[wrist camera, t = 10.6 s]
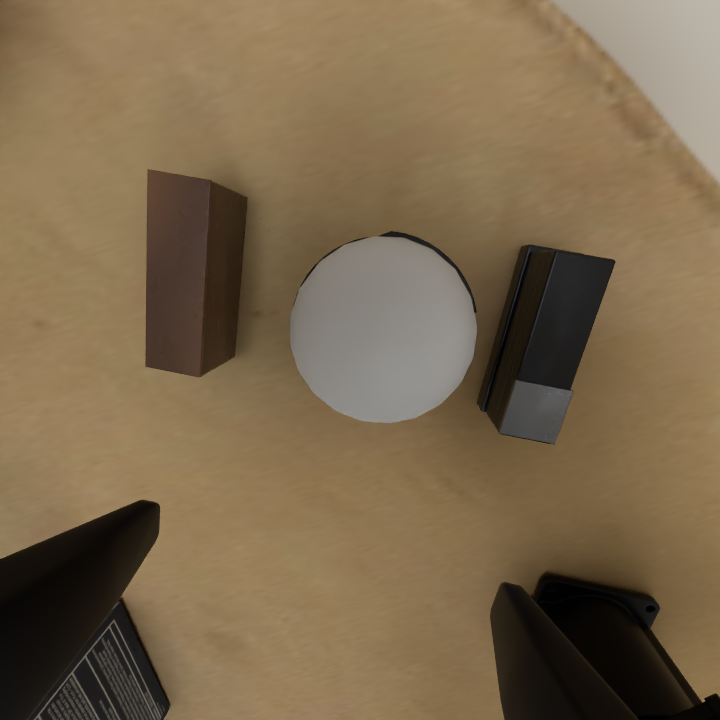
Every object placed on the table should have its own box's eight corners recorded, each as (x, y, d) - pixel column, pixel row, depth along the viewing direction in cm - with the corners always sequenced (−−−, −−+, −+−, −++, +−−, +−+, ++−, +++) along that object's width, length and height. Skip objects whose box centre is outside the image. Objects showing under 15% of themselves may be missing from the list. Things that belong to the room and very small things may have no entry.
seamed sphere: (489, 332, 18) (553, 377, 11) (369, 413, 19) (356, 498, 12) (367, 156, 16) (347, 72, 9) (249, 261, 18) (154, 257, 11)
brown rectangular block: (248, 197, 17) (210, 180, 14) (234, 357, 19) (199, 377, 16) (197, 188, 17) (147, 169, 14) (190, 348, 19) (145, 366, 16)
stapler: (575, 254, 16) (626, 252, 13) (524, 413, 19) (555, 449, 15) (521, 245, 17) (556, 240, 13) (476, 404, 19) (496, 437, 15)
